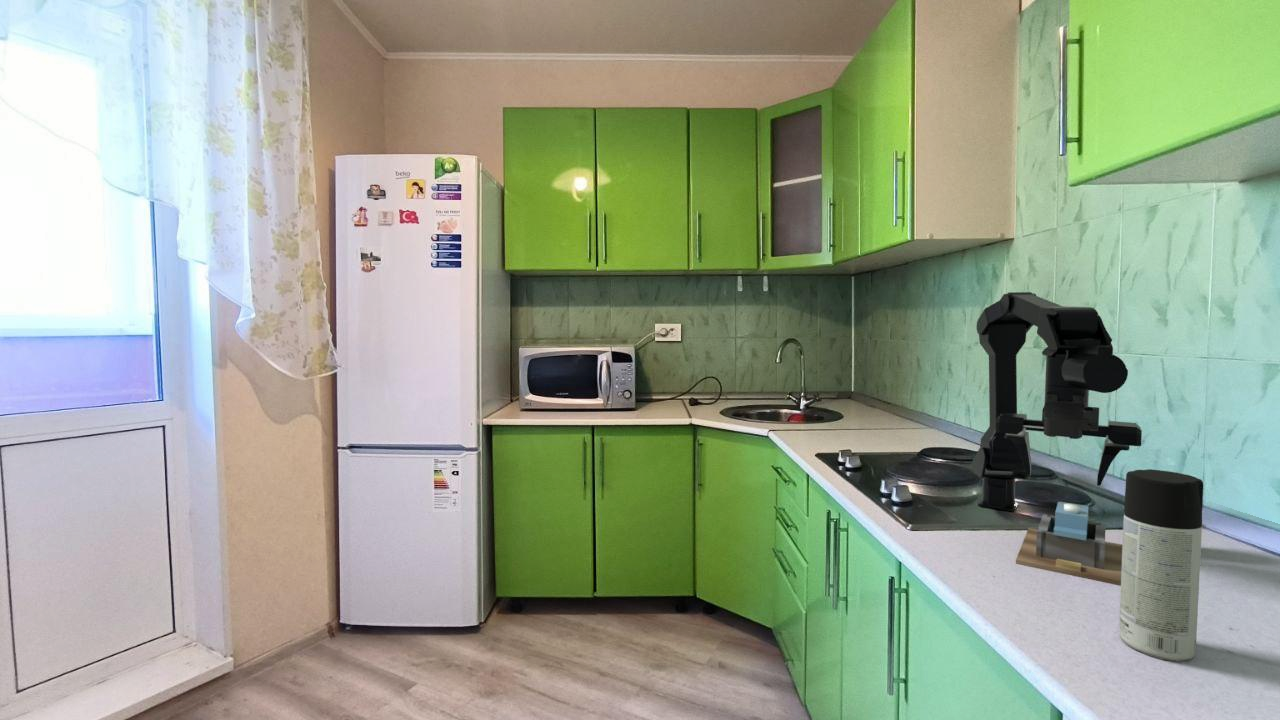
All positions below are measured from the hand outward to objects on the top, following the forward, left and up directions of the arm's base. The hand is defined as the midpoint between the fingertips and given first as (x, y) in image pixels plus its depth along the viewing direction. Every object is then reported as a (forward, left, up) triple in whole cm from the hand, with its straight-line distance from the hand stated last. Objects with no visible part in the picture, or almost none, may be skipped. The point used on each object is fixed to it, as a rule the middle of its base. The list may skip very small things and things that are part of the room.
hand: (1062, 480), depth 95 cm
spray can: (+29, +10, -12) cm, 33 cm away
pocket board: (+2, +1, -12) cm, 12 cm away
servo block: (+2, +1, -11) cm, 11 cm away
